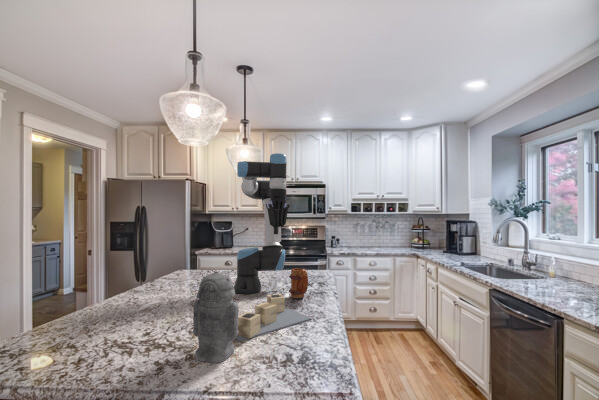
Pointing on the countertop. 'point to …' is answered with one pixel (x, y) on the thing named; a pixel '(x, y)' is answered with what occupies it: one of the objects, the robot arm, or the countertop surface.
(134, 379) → the countertop surface
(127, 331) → the countertop surface
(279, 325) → the mat
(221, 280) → the figurine
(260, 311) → the plain block
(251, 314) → the labelled block
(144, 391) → the countertop surface
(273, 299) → the labelled block
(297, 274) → the mug
